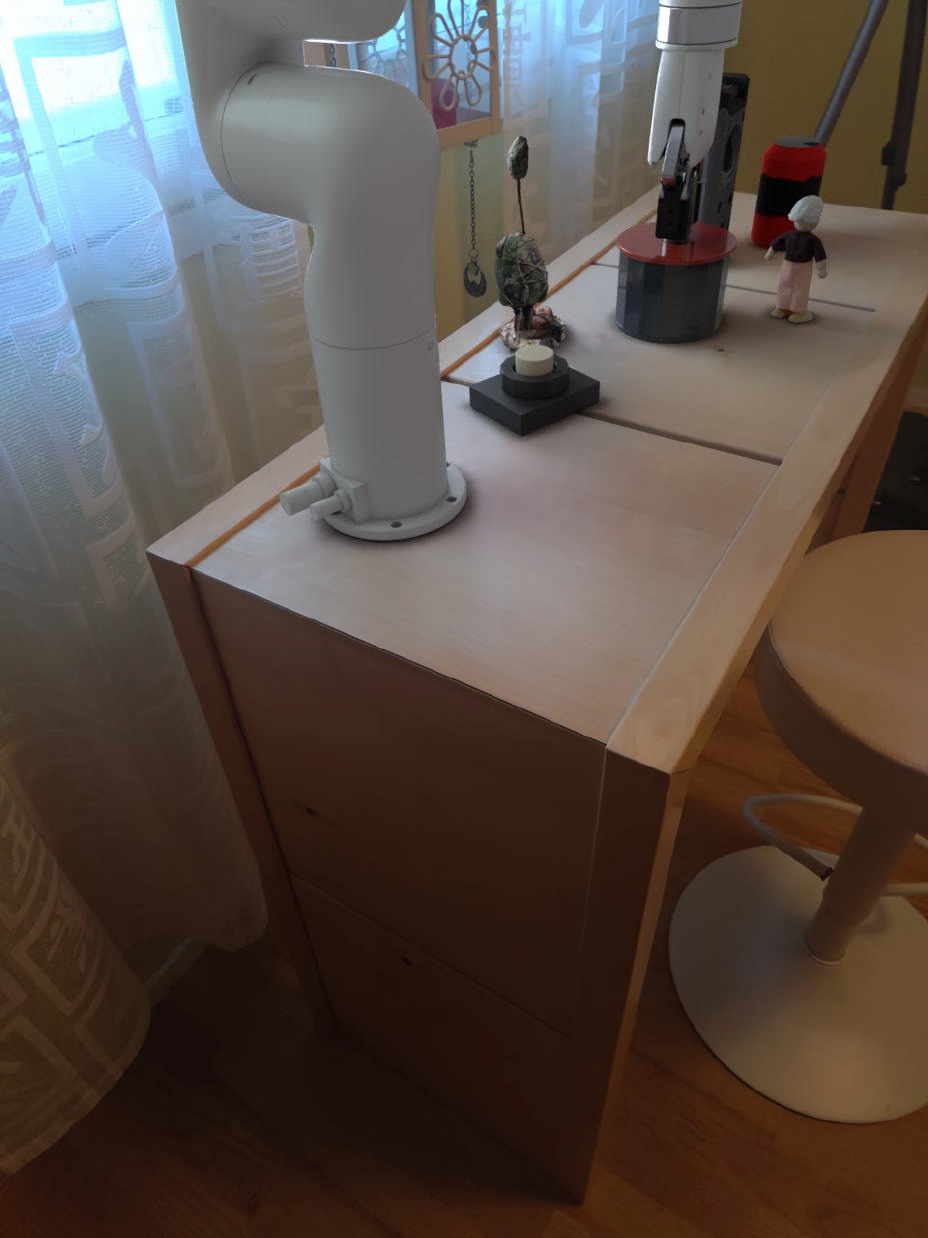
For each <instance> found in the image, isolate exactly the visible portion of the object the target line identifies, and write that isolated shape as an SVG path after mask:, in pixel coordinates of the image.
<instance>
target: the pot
mask: <svg viewBox="0 0 928 1238" xmlns="http://www.w3.org/2000/svg"><path fill="white" fill-rule="evenodd" d="M730 260H731V254H730V255H729V256H727V257H725V258H722V259H720V260H717V261H713V262H708V263H703V264H695V265H662V264H654V263H648V262H644V261H640V260H636V259H633V258H631V257H628V256H627V255H625V254H623V253H622V252H621V251H620V250H619V259H618V274H617V287H616V289H617V290H616V305H615V306H616V307H615V318H614V319H615V321H614V322H615V325H616V326H617V328H618V329H619V330H620V331H621V332H622V333H624V334H626V335H627V336H630V337H632V338H635V339H638V340H642V341H647V342H654V343H666V344H669V343H670V344H672V343H673V344H676V343H686V342H687V343H688V342H693V341H698V340H701V339H704V338H707V337H708V336H711V335H712V334H714V333H715V332H716V331H717V330H718V329H719V327H720V324H721V321H722V315H723V308H724V302H725V294H726V289H727V281H728V274H729V267H730V262H731V261H730Z"/></svg>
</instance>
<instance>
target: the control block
mask: <svg viewBox="0 0 928 1238" xmlns="http://www.w3.org/2000/svg"><path fill="white" fill-rule="evenodd" d="M468 393H469V394H468V395H469V407H471V408H472V409H474V410H476V411H478V413H481V414H483V415H485V416H486V417H488V418H489V419H491V420H493V421H495V422H496V423H498V424H500V425H502V426H503V427H506V428H507V429H508V430H510V431H511V432H514V433H515V434H516V435H518V436H521V437H523V436H524V435H527V434H529V433H532V432H534V431H536V430H538V429H541V428H543V427H545V426H548V425H551V424H552V423H554V422H557V421H559V420H562V419H564V418H566V417H569V416H571V415H573V414H575V413H578V412H580V411H583V410H585V409H587V408H590V407H592V406H594V405H596V404H599V403H600V394H601V381H600V380H598V379H595V378H593V377H591V376H589V375H587V374H585V373H583V372H581V371H579V370H577V369H575V368H573V367H571V366H570V365H569V363H568V361H567V359H566V358H564V357H562V356H559V355H557V354H556V353H554V357H553V371H552V372H551V373H549V374H546V375H543V376H533V377H532V376H525V375H521V374H519V373H517V372H516V354H514V355H511V356H508V357H506V358H505V359H504V360H503V361H502V363H501V364H500V365H499V373H498V374H495V375H493V376H490V377H488V378H484V379H483V380H480V381H478V382H476V383H473V384H470V385H468Z"/></svg>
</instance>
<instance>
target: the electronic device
mask: <svg viewBox="0 0 928 1238" xmlns="http://www.w3.org/2000/svg"><path fill="white" fill-rule="evenodd" d="M750 82H751V78H750V77H749V76H748V74H746V73H741V72H724V71H723V75H722V84H721V93H720V101H719V109H718V117H717V123H716V130H715V135H714V140H713V143H712V146H711V148H710V149H709V151H708V152H707V153H706V155H705V156H704V163H703V175H702V180H701V182H697V183H702V190H701V198H700V207H699V215H698V220H697V222H699V223H705V224H710V225H714V226H718V227H721V228H723V229H725V230H727V231H729V230H730V223H731V216H732V215H731V214H732V208H733V201H734V195H735V186H736V181H737V180H736V179H737V173H738V167H739V159H740V153H741V147H742V146H741V145H742V140H743V133H744V132H743V131H744V127H745V126H744V124H745V119H746V110H747V104H748V98H749V97H748V96H749V89H750V85H751V84H750ZM683 159H684V158H683ZM682 164H683V162H682Z"/></svg>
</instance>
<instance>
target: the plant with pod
mask: <svg viewBox="0 0 928 1238" xmlns="http://www.w3.org/2000/svg"><path fill="white" fill-rule="evenodd" d="M529 150H530V148H529V144H528V140H527V137H525V136H523V135H517V137H516V139H515V140H514V141H513V143H512V144H511V146H510V148H509V150H508V152H507V159H506V163H507V169H508V172H509V175H510V177H511V178H512V179H513V180H516V192H517V199H518V200H517V203H518V206H519V207H518V210H519V218H520V225H521V231H520V230H519V231H517V232H515V233H509V234H507V235H506V236H504V237H503V238H501V240H500V241H499V242H498V243H497V244H496V248H495V257H494V258H495V259H494V267H493V268H494V269H493V271H494V276H495V280H496V292H497V295H498V302H499V304H500V305H502V306H503V307H509V308H511V309H512V310H513V313H514V315H513V316H514V317H513V318H511V321H510V322H508V323H507V324H504V325H503V326H501V327H500V330H499V329H498V330H497V332H498V334H499V336H500V339H501V341H502V343H503V345H505V347H506V348H508V349H511V350H514V351H517V350H518V349H520V348H521V347H524V346H528V345H542V346H546V347H549V348H551V349H552V350H553V351H554V350H555V349H556V348H559V347H560V345H561V343H562V342H563V340H565V337H567V336H568V335H566V332H565V331H566V329H565V327H566V326H567V325H566V324H565V321H564V320H562V319H561V317H558V316H557V315H554V312H553V310H552V309H551V307H550V306H549V305H541V306H539V308H538V309H534V306H536V304H537V303H543V302H545V301H546V299H547V297H548V293H549V287H550V285H549V271H547V268H546V264H545V259H543V256H542V253H541V250H540V248H539V246H538V245H537V242H536V240H535V237H533V236H532V235H530V234H528V233H527V234H526V231H525V221H524V213H523V205H522V194H521V189H522V188H521V184H522V183H521V180H522V179H525V178H526V176H527V174H528V171H529V170H528V169H529ZM492 240H493V241H496V239H495V238H492Z"/></svg>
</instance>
